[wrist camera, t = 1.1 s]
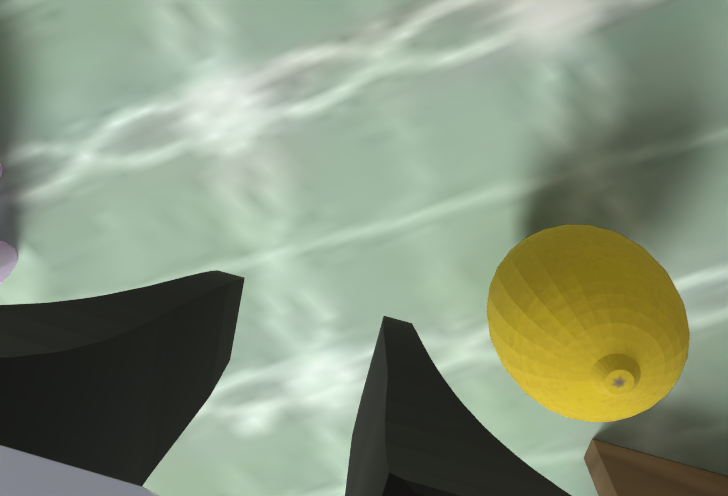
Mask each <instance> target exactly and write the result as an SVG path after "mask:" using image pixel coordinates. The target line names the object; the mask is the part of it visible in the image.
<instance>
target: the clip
mask: <svg viewBox="0 0 728 496" xmlns="http://www.w3.org/2000/svg"><path fill="white" fill-rule="evenodd" d="M2 174H3V169H2V166H1V164H0V178H1V177H2ZM17 260H18V255H17V252H16V250H15V249H14V247H13V246H11V245H10V244H8V243H6V242H4V241H1V240H0V284H1V283H2V282H3V281H4V280H5V279H6V278H7V277H8V276H9V274H10V273H11V272H12V270H13V268H14V267H15V265H16V263H17Z"/></svg>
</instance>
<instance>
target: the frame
mask: <svg viewBox="0 0 728 496" xmlns="http://www.w3.org/2000/svg"><path fill="white" fill-rule="evenodd" d="M584 460H585V462H586V465H587V467H588V470H589V472H590V475H591V477H592V480H593V482H594V485H595V487H596V490H597V492H598V495H599V496H728V477H727V476H723V475H720V474H716V473H713V472H709V471H706V470H702V469H698V468H695V467H691V466H688V465H684V464H680V463H677V462H673V461H670V460H666V459H662V458H659V457H655V456H652V455H648V454H644V453H641V452H637V451H634V450H630V449H626V448H623V447H619V446H616V445H612V444H608V443H605V442H601V441H598V440H594V439H592V441H591V444H590V446H589V448H588V450H587V452H586V455H585V457H584Z"/></svg>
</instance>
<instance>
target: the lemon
mask: <svg viewBox="0 0 728 496" xmlns="http://www.w3.org/2000/svg"><path fill="white" fill-rule="evenodd" d="M487 317H488V324H489V331H490V337H491V340H492V343H493V345H494V347H495V349H496V352H497V354H498V356H499V358H500V360H501V362H502V364H503V366H504V368H505V369H506V370H507V372H508V373H509V374H510V375H511V376H512V378H513V379H514V380H515V381H516V382H517V384H518V385H519V386H520V387H521V388H522V389H523V391H524V392H526V393H527V394H528V395H529V396H530V397H532V398H533V399H534V400H536V401H537V402H539V403H540V404H541V405H543V406H544V407H546V408H547V409H549V410H551V411H553V412H556V413H558V414H561V415H563V416H566V417H568V418H572V419H577V420H583V421H589V422H610V421H617V420H621V419H625V418H629V417H633V416H635V415H637V414H639V413H641V412H643V411H645V410H647V409H649V408H651V407H652V406H653V405H655V404H656V403H657V402H658V401H660V400H661V399H662V398H663V397H665V396H666V395H667V394H668V392H669V391H670V390H671V388H672V387H673V386H674V385H675V383H676V382H677V381H678V379H679V377H680V374H681V372H682V369H683V367H684V365H685V362H686V360H687V356H688V347H689V327H688V322H687V316H686V311H685V307H684V304H683V301H682V299H681V297H680V295H679V293H678V291H677V290H676V288H675V286H674V284H673V282H672V280H671V278H670V277H669V275H668V273H667V272H666V270H665V269H664V268H663V267H662V266H661V265H660V264H659V263H658V262H657V261H656V260H655V259H654V258H653V257H652V256H651V255H650V254H649V253H648V252H647V251H646V250H645V249H644V248H642V247H641V246H640V245H638V244H636V243H635V242H633V241H631V240H629V239H628V238H626V237H624V236H622V235H621V234H619V233H616V232H614V231H610V230H606V229H603V228H599V227H595V226H591V225H561V226H557V227H552V228H547V229H544V230H542V231H539V232H537V233H535V234H533V235H531V236H529V237H527V238H525V239H524V240H523V241H521V242H520V243H519V244H518V245H516V246H515V247H514V248H513V249H511V250H510V252H509V253H508V254H507V256H506V257H505V258H504V260H503V261H502V262H501V263H500V265H499V266H498V268H497V270H496V273H495V275H494V277H493V280H492V282H491V284H490V288H489V295H488V303H487Z"/></svg>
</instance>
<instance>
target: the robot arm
mask: <svg viewBox="0 0 728 496" xmlns="http://www.w3.org/2000/svg"><path fill="white" fill-rule="evenodd" d="M243 284H244V278H243V277H239V276H236V275H232V274H228V273H225V272H221V271H209V272H204V273H199V274H195V275H191V276H187V277H183V278H179V279H175V280H171V281H167V282H163V283H159V284H155V285H151V286H147V287H142V288H137V289H132V290H127V291H123V292H118V293H113V294H108V295H103V296H97V297H91V298H84V299H77V300H68V301H59V302H50V303H36V304H16V305H0V496H159V495H157V494H155V493H153V492H152V491H150V490H148V489H146V488H144V487H142V486H143V484H144V483H145V481H146V480H147V478H148V477H149V476H150V474H151V473H152V471H153V470H154V469H155V467H156V466H157V465H158V464H159V462H160V461H161V460H162V458H163V457H164V456H165V454H166V453H167V452H168V451H169V449H170V448H171V447H172V445H173V444H174V443H175V441H176V440H177V439H178V437H179V436H180V435H181V434H182V432H183V431H184V430H185V428H186V427H187V426H188V424H189V423H190V422H191V420H192V419H193V418H194V416H195V415H196V414H197V412H198V411H199V410H200V409H201V407H202V406H203V405H204V403H205V402H206V400H207V399H208V398H209V396H210V395H211V393H212V391H213V390H214V388H215V386H216V384H217V383H218V381H219V379H220V377H221V375H222V374H223V372H224V370H225V368H226V366H227V364H228V362H229V361H230V357H231V351H232V345H233V340H234V334H235V329H236V323H237V317H238V312H239V306H240V301H241V295H242V289H243ZM345 496H571V495H570V494H568V493H567V492H565V491H564V490H562V489H561V488H559V487H558V486H556V485H555V484H554V483H552V482H551V481H549V480H548V479H547V478H545V477H544V476H542V475H541V474H540V473H538V472H537V471H535V470H534V469H533V468H531V467H530V466H529V465H528V464H526V463H525V462H524V461H522V460H521V459H520V458H519V457H517V456H516V455H515V454H514V453H513V452H512V451H510V450H509V449H508V448H507V447H506V446H505V445H504V444H502V443H501V442H500V441H499V440H498V439H497V438H495V437H494V436H493V435H492V434H491V433H490V432H489V431H488V430H487V429H486V428H485V427H484V426H483V425H482V424H481V423H480V422H479V421H478V420H477V419H476V418H475V416H474V415H473V414H472V413H471V412H470V411H469V410H468V409H467V408H466V407H465V406H464V404H463V403H462V402H461V401H460V400H459V398H458V397H457V396H456V395H455V393H454V392H453V391H452V389H451V388H450V387H449V385H448V384H447V382H446V381H445V380H444V378H443V377H442V375H441V374H440V372H439V371H438V369H437V368H436V366H435V365H434V363H433V361H432V360H431V358H430V356H429V355H428V353H427V351H426V349H425V347H424V345H423V344H422V342H421V340H420V338H419V336H418V334H417V332H416V330H415V328H414V327H413V325H412V323H408V322H405V321H401V320H397V319H394V318H390V317H386V316H384V317H383V321H382V324H381V328H380V332H379V335H378V339H377V343H376V346H375V350H374V354H373V357H372V361H371V364H370V368H369V372H368V375H367V379H366V383H365V386H364V390H363V393H362V397H361V401H360V405H359V409H358V414H357V418H356V422H355V426H354V430H353V434H352V442H351V450H350V458H349V467H348V475H347V484H346V492H345Z"/></svg>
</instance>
